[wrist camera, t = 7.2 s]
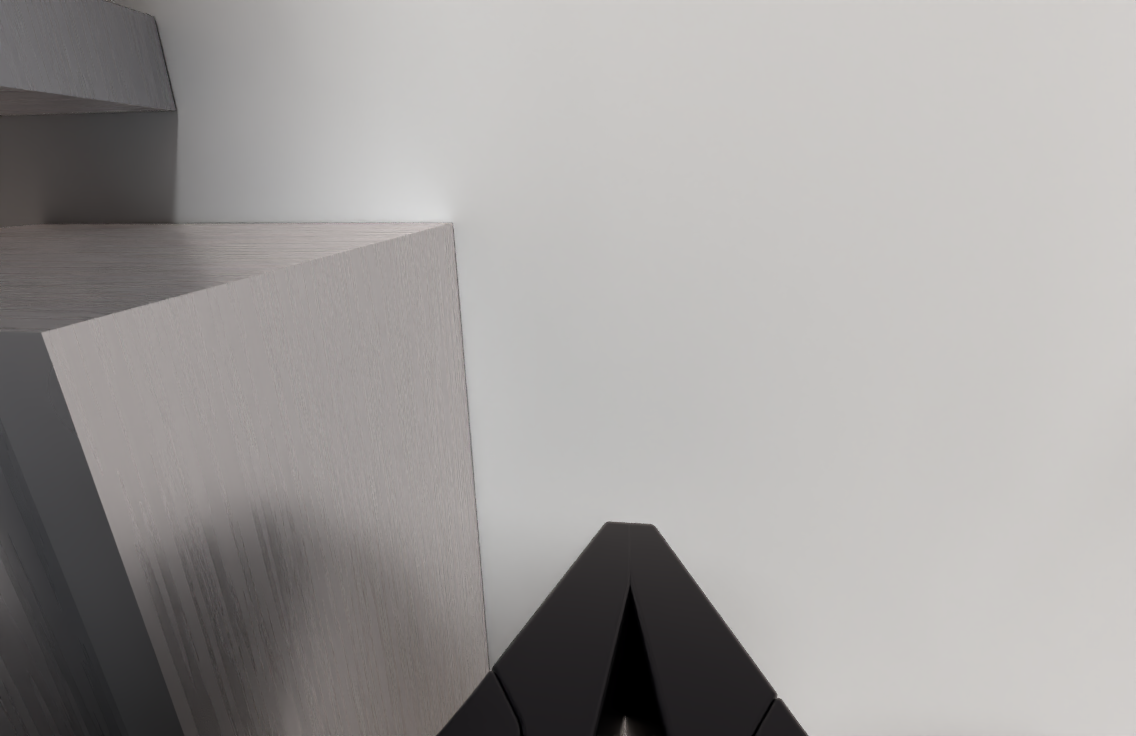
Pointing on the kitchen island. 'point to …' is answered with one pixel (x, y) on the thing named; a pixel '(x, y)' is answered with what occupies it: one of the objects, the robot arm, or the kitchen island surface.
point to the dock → (79, 59)
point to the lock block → (235, 481)
